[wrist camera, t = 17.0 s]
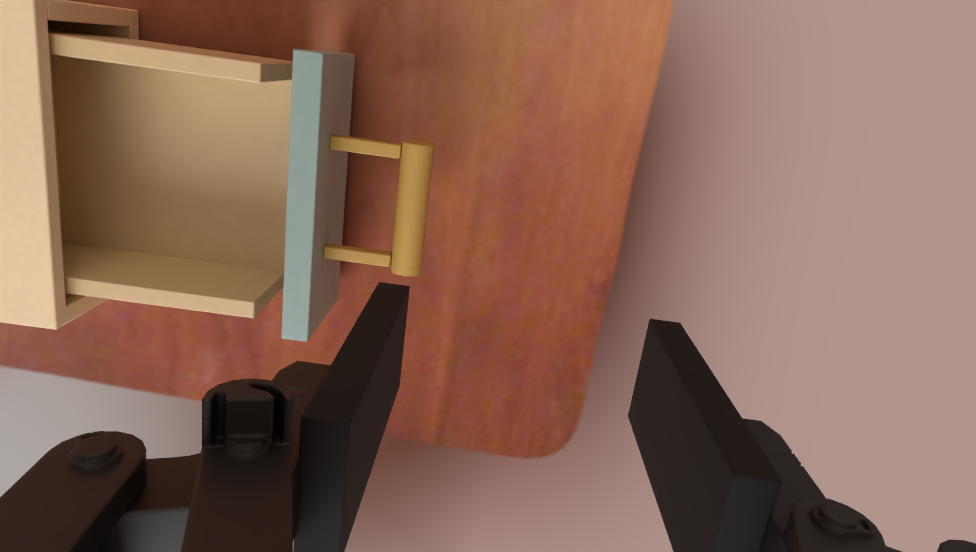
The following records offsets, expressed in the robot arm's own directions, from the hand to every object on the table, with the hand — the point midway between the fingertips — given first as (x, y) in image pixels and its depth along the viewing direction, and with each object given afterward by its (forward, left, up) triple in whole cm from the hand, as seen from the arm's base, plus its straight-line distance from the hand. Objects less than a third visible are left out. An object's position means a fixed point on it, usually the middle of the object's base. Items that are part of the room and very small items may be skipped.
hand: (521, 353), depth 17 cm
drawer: (+10, +9, -18) cm, 22 cm away
